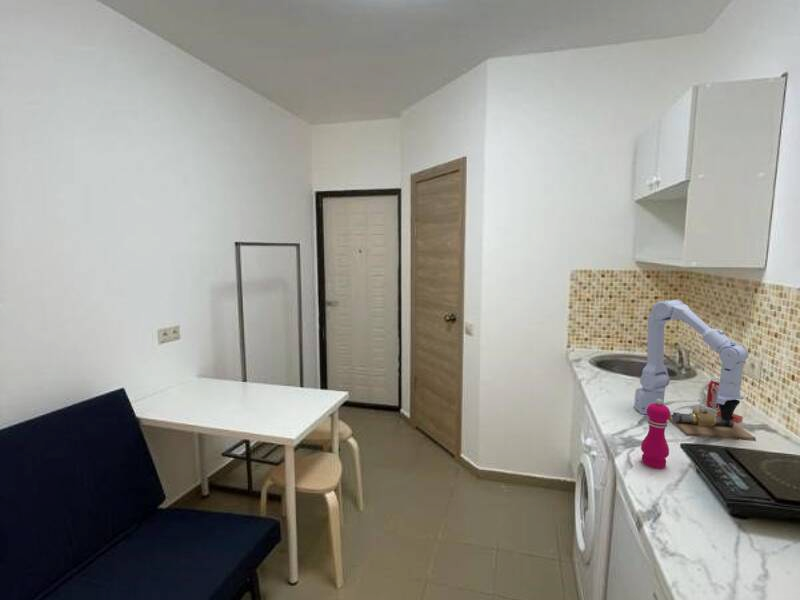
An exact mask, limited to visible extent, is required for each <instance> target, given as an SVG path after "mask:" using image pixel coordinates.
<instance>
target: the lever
mask: <svg viewBox="0 0 800 600" xmlns="http://www.w3.org/2000/svg"><path fill="white" fill-rule="evenodd" d="M698 409H699V411H702V412H711V413H713V414H714V415H716V416H718V417H721V412H720V410H716V409H713V408H710V407H707V405H699V407H698ZM730 421H733V422H734V423H735V424H739V423H742V422H743V416H742V415H739V414H736V413H733V415H732V417H731V419H730Z"/></svg>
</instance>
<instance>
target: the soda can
mask: <svg viewBox="0 0 800 600" xmlns="http://www.w3.org/2000/svg"><path fill="white" fill-rule="evenodd" d="M719 383H720V378H717V377H715V378H711V379H710V381H709V382H708V385H707V393H706V395H707V396H706V401H705V402H706V405H705V406H707V407H710V408H713V409H716V410H720V407H719V405H718V403H717V401H716V399H717V397H718V391H719Z"/></svg>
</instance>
